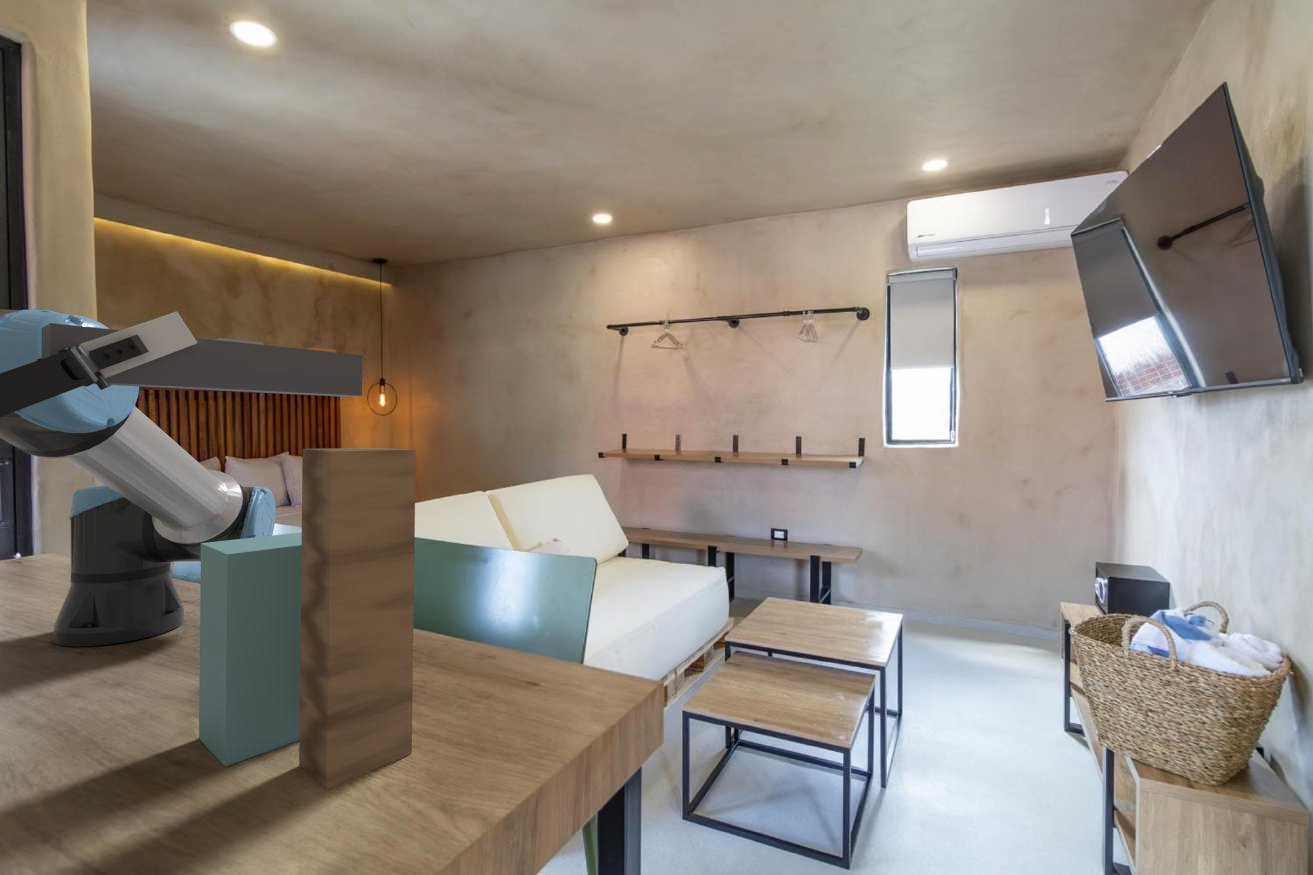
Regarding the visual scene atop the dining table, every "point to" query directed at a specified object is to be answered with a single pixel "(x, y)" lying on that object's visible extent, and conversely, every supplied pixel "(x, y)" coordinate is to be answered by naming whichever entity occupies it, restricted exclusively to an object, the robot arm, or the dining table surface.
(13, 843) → the dining table surface
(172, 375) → the power strip
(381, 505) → the walnut stand
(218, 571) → the teal block
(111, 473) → the robot arm
